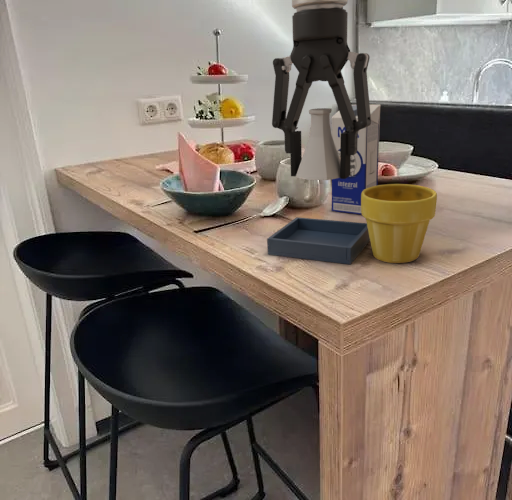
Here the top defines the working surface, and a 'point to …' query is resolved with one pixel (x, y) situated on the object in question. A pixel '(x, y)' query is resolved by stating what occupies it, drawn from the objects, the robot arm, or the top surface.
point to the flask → (320, 149)
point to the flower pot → (397, 219)
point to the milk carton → (357, 163)
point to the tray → (320, 240)
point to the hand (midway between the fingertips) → (320, 175)
